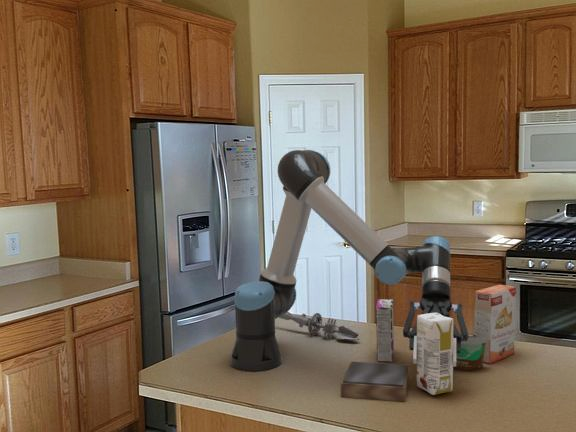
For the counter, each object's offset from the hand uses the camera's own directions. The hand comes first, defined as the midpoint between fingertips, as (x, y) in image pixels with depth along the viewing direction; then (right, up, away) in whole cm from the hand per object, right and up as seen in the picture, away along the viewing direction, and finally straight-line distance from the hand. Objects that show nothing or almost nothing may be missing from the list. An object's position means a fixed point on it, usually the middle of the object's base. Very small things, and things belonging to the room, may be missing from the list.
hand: (434, 362), depth 153 cm
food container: (+13, -7, +20) cm, 25 cm away
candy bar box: (-7, -6, +32) cm, 34 cm away
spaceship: (-28, -4, +56) cm, 62 cm away
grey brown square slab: (-14, -8, +7) cm, 17 cm away
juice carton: (+1, -8, +3) cm, 8 cm away
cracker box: (+25, -6, +29) cm, 39 cm away
